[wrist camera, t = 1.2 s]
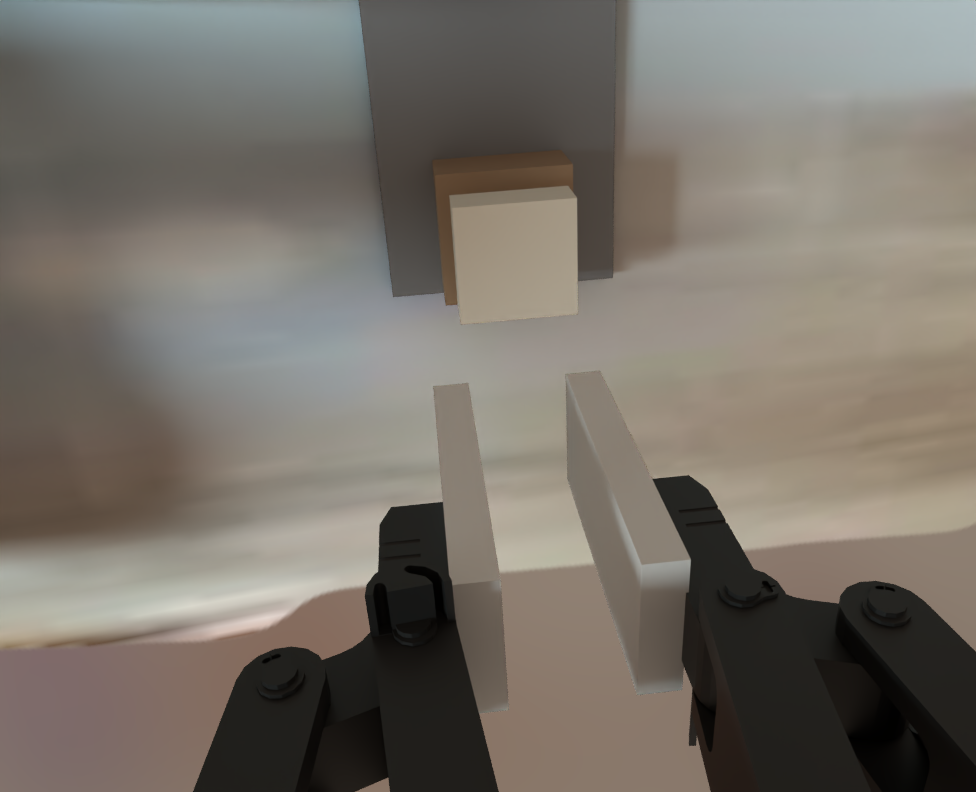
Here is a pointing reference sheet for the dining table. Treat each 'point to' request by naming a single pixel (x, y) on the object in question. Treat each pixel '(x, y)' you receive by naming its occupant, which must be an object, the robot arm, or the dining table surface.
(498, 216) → the button cream
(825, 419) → the dining table surface
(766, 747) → the robot arm
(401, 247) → the button board
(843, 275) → the dining table surface
